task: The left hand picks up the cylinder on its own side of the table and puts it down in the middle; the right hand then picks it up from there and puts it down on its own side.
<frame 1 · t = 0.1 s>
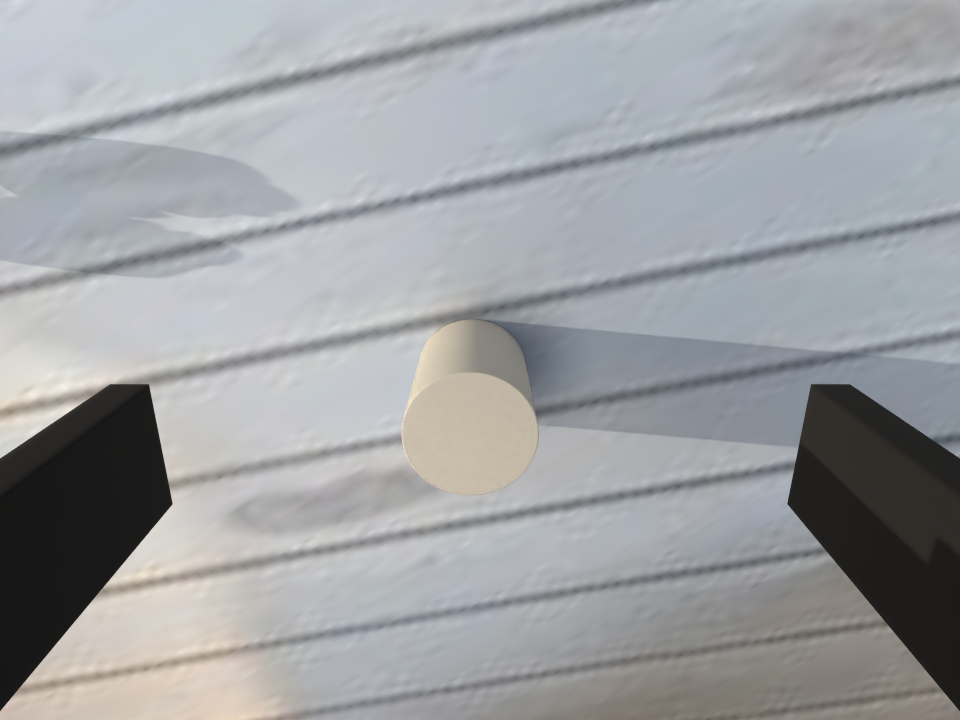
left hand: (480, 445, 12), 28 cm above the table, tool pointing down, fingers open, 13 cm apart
cylinder: (472, 370, 42), on the table
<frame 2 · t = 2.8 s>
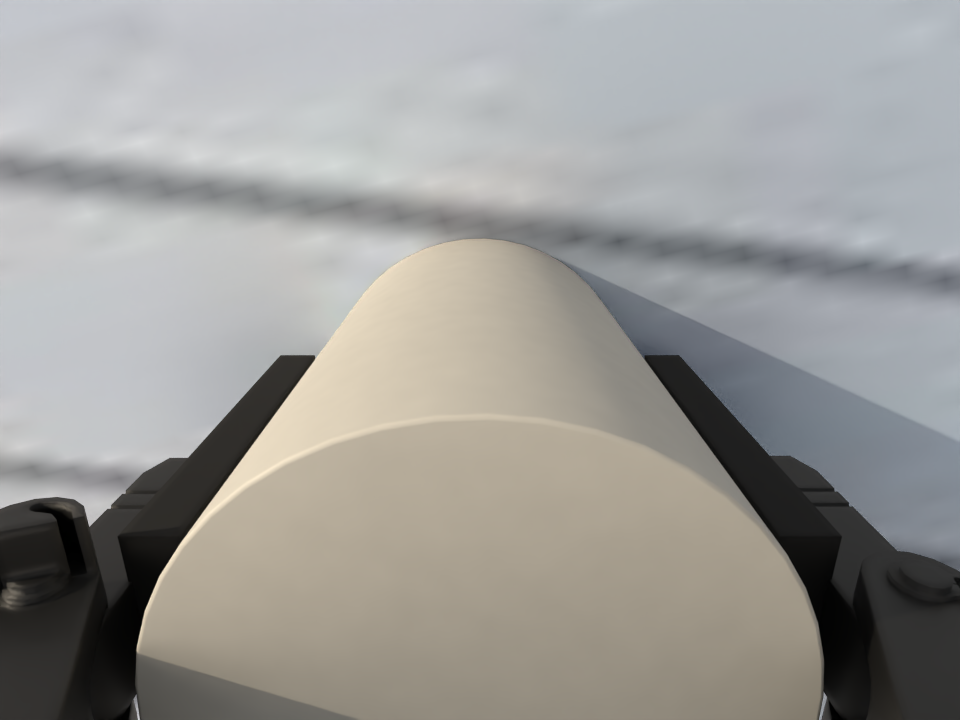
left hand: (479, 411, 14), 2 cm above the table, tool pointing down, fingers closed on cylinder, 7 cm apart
cylinder: (479, 382, 16), on the table, touching left hand
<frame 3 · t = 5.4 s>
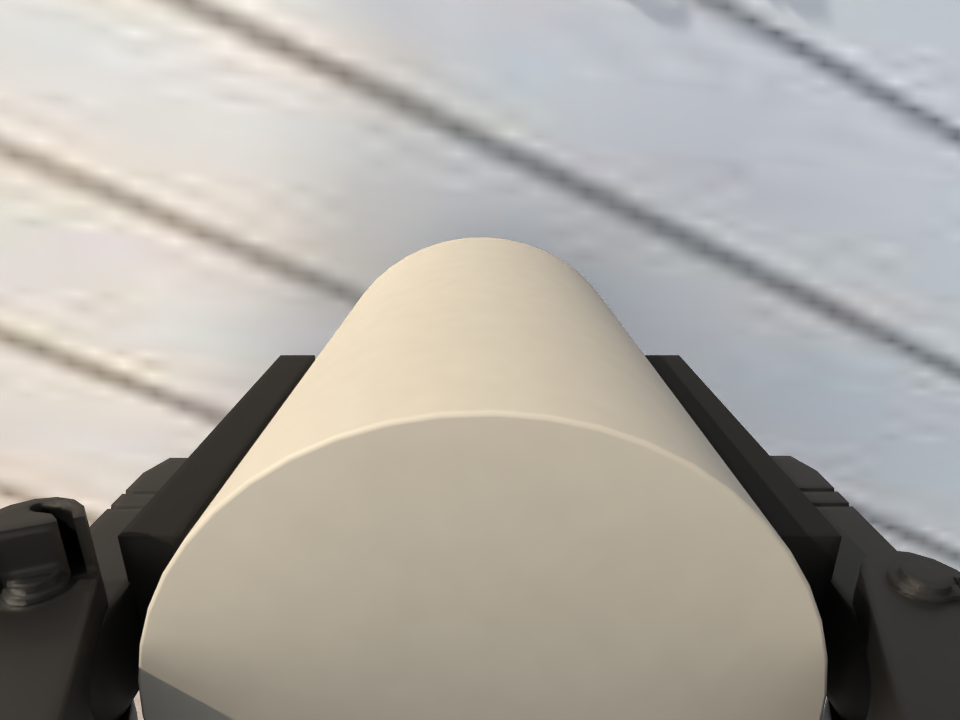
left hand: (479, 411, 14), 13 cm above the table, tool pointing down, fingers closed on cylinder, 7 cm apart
cylinder: (481, 380, 16), point 11 cm above the table, touching left hand
when the left hand's fingers open (4 cm above the table, at t = 8.0 s): cylinder drops 2 cm, on the table.
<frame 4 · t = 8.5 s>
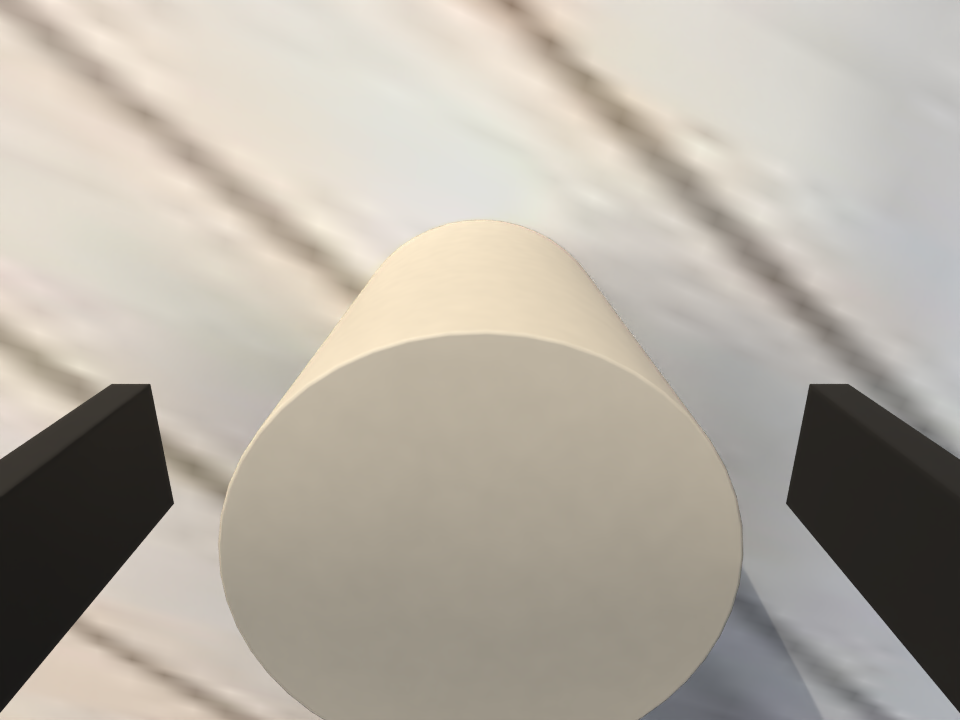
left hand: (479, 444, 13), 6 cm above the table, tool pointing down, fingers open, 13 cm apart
cylinder: (480, 348, 18), on the table
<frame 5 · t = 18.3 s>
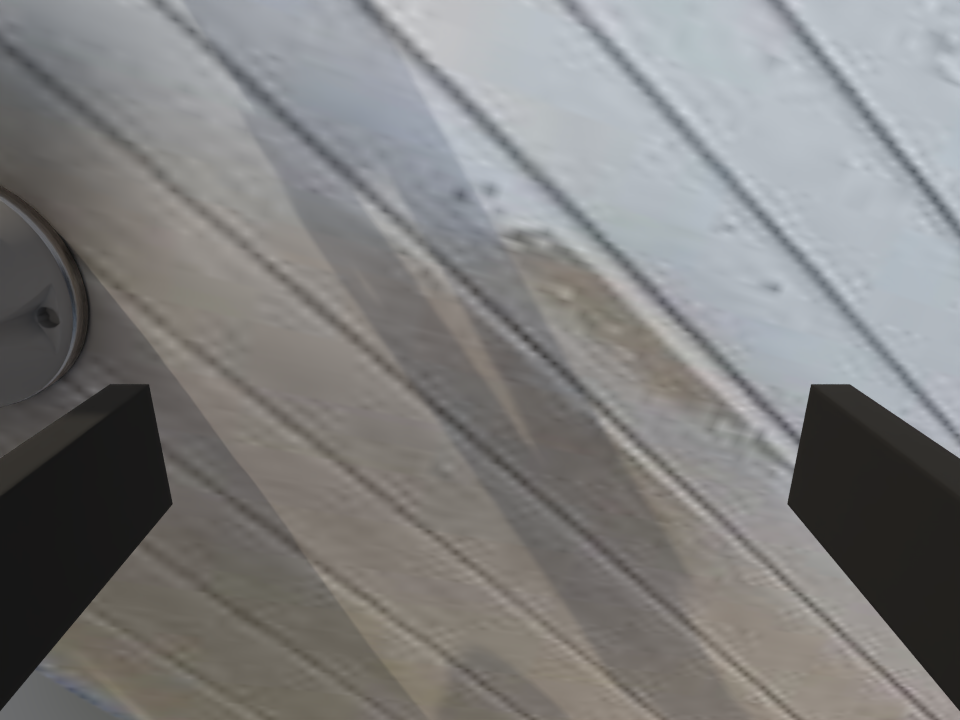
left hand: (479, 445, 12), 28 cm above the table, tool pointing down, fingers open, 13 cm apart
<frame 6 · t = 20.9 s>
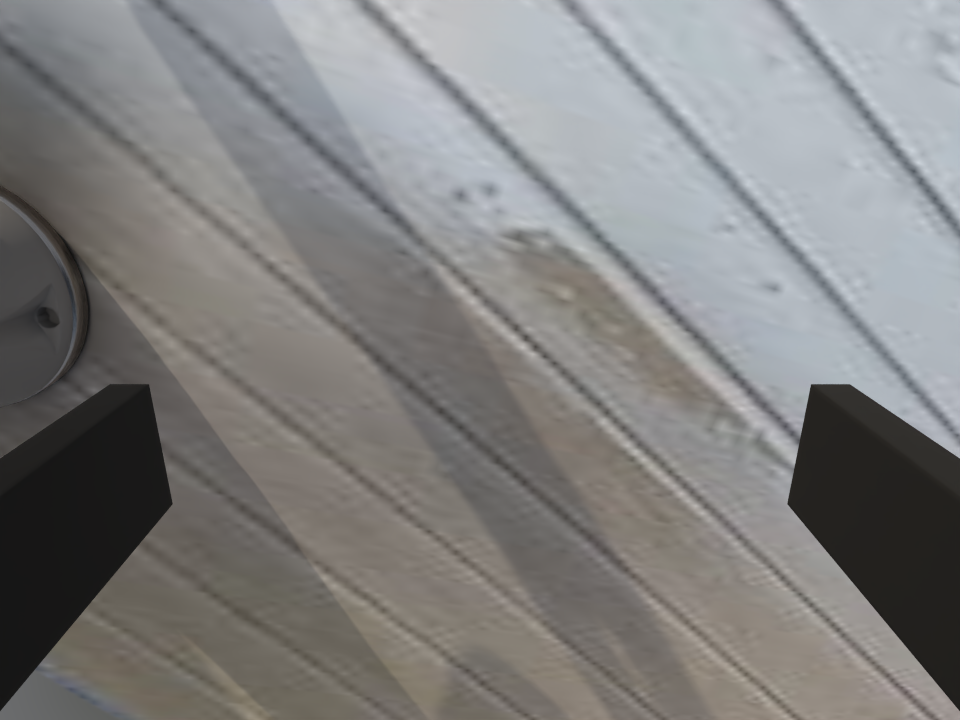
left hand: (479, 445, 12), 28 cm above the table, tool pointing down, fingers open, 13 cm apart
when the right hand's fingers open (4 cm above the table, at t = 23.7 s): cylinder drops 2 cm, on the table.
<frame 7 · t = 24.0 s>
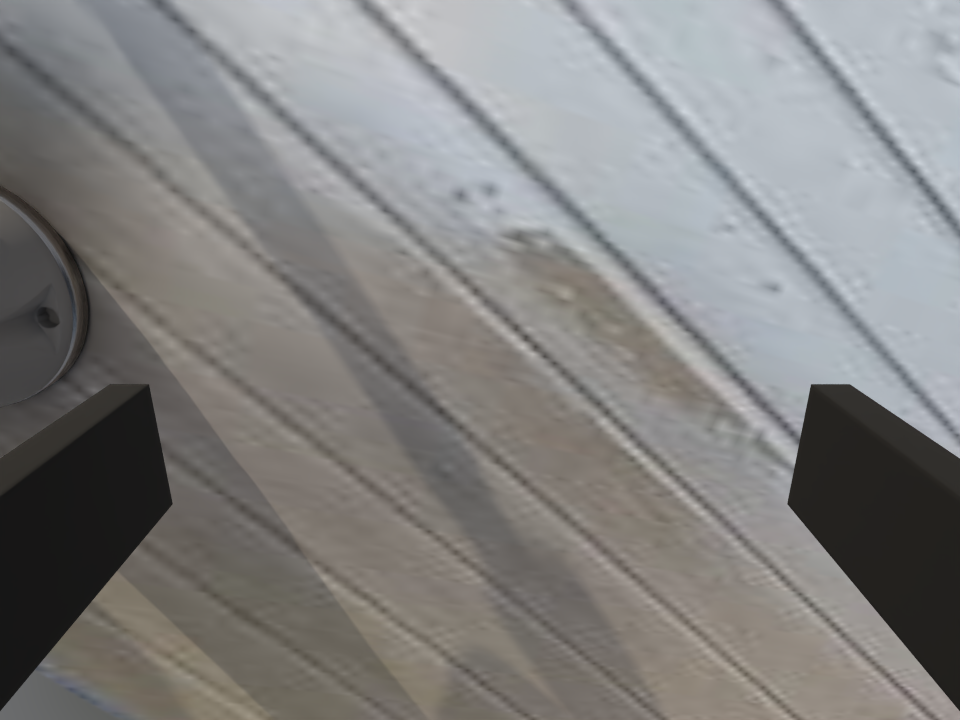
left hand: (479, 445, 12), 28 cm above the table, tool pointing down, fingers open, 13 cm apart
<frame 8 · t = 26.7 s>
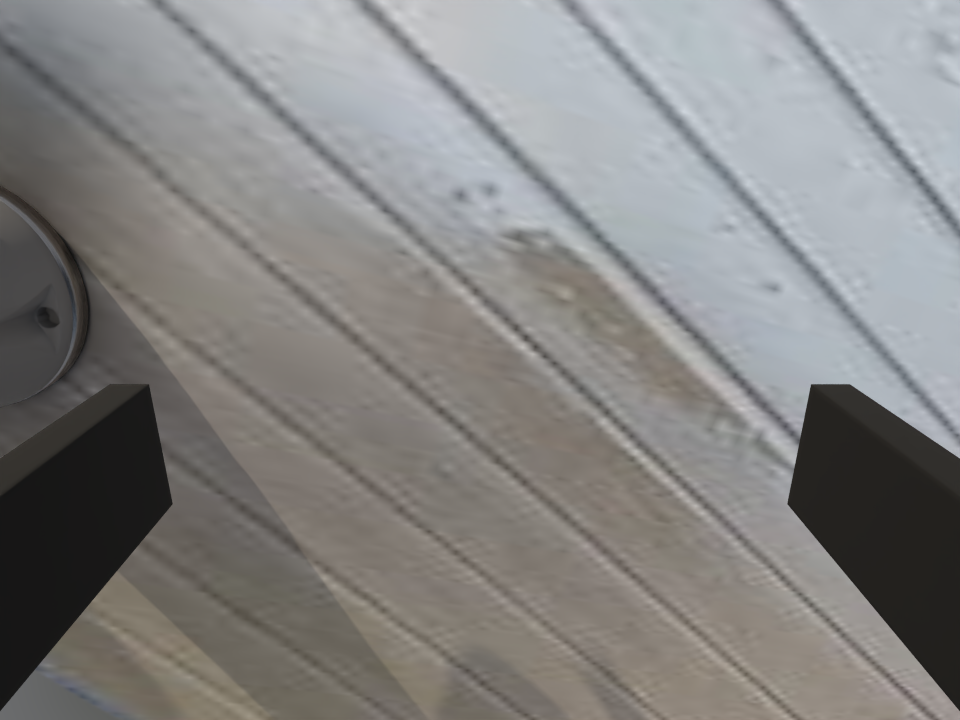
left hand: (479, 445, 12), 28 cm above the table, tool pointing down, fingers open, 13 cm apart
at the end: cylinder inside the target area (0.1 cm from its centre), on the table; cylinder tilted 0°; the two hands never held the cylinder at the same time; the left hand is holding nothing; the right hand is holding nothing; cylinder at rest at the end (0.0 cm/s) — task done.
